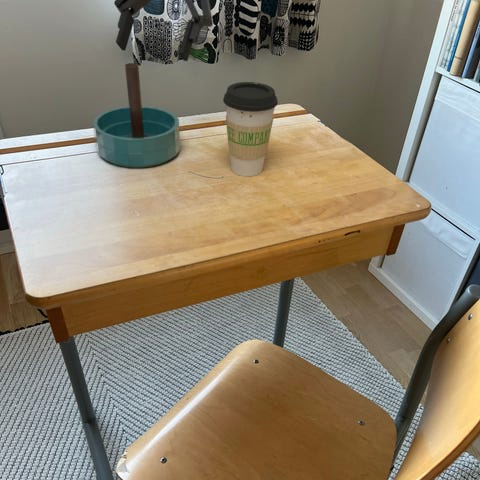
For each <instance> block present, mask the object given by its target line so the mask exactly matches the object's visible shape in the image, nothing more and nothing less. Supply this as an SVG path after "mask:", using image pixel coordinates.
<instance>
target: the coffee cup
mask: <svg viewBox="0 0 480 480" xmlns="http://www.w3.org/2000/svg"><path fill="white" fill-rule="evenodd" d="M222 101H223V103H224V104H225V113H226V115H225V123H226V131H227V132H226V135H227V145H228V146H227V147H228V153H229V161H230V171H231V172H232V173H233V174H235V175H237V176H240V177H256V176H259V175H260V174H261V173H262V172H263V170H264V169H263V168H264V163H265V158H266V155H267V152H268V146H269V142H270V137H271V134H272V133H271V132H272V128H273V123H274V114H275V108H276V107H277V106H278V97H277V95H276V91H275V89H274V88H273V87H272V86H270V85H268V84H265V83H261V82H254V81H243V82H242V81H241V82H236V83H232V84H230V85H229V86H227V89H226V92H225V93H224V94H223V99H222Z"/></svg>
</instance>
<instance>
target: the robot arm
mask: <svg viewBox="0 0 480 480" xmlns="http://www.w3.org/2000/svg"><path fill="white" fill-rule="evenodd" d="M152 1H153V0H114V3H113V4H114V6H115V7H116V8H117V10H118V11H119V13H120V15H119V19H118V21H117V28H118V33H117V36H116V40H115V43H116V44H117V46H118V47H119V49H120V50H121V51H123V52H124V51H125V52H126V50H127V46H128V43H129V40H130V36H131V32H132V30H133V26H134V22H135V20H136V19H135V18H134V17H133V16H135V15H136V14H137V13H138V12H139V11H140V10H142V9H143V8H145V6H147V5H148V4H149V3H150V2H152ZM184 1H185V4H186V6H187V8H188V10H189V12H190V14H191V16H192V19H188V21H187V25H186V28H185V31H184V33H183V36H182V37H183V38H182V41H181V44H180V47H179V51H178V53H179V55H180V57H181V59H182V61H184V62H188V61H189V56H190V54H191V50H192V47H193V44H197V42H198V41H199V37H200V34H201V30H202V29H203V28H204V27H208V28H210V27H212V26H213V25H214V22H213V15H212V10H211V4H210V0H200V6H201V12H202V15H200V14H199V12H198V10H197V7H196V6H195V3H194V1H193V0H184Z"/></svg>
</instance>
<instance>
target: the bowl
mask: <svg viewBox="0 0 480 480" xmlns="http://www.w3.org/2000/svg"><path fill="white" fill-rule="evenodd" d="M142 114H143V126H144V134H146V135H149V136H151V137H143V138H126V137H127V136H129V135H132V129H131V119H130V110H129V105H128V106H120V107H119V106H118V107H115V108H111V109H109V110H106V111H103V112H101V113H99V114H97V116H96V117H94V119H93V122H92V128H93V135H94V141H95V148H96V151H97V154H98V155H99V156H100V157H101V158H102V159H104V160H105V161H107V162H109V163H111V164H113V165H115V166H119V167H123V168H131V169H140V168H141V169H143V168H152V167H156V166H160V165H163V164H166V163H167V162H169V161H170V160H173V158H174V157H176V156H177V154H178V153H179V152H180V150H181V137H180V135H181V134H180V119H179V118H178V117H177V115H176V114H174V113H173V112H171V111H169V110H166V109H163V108H159V107H154V106H147V105H142Z"/></svg>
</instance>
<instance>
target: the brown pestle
mask: <svg viewBox="0 0 480 480" xmlns="http://www.w3.org/2000/svg"><path fill="white" fill-rule="evenodd" d="M124 69H125V71H124V72H125V80H126V88H127V89H126V90H127V98H128V106H129V110H130V119H131V129H132V135H129V136H127V137H126V138H143V137H151V136H149V135H146V134H144V126H143V114H142V106H143V104H142V93H141V81H140V80H141V79H140V70H139V69H140V68H139V64H138V63H136V62H130V63H125V64H124Z"/></svg>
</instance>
